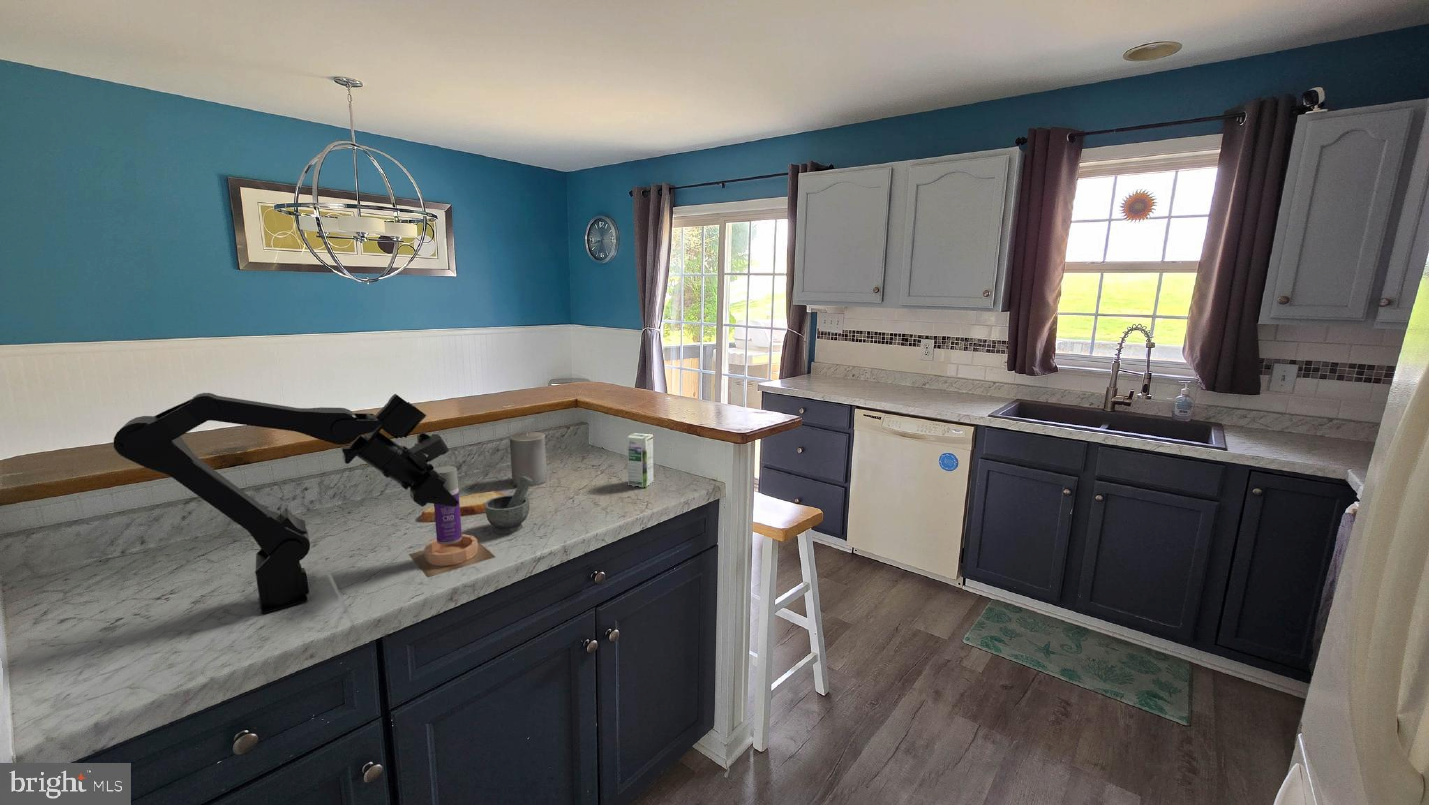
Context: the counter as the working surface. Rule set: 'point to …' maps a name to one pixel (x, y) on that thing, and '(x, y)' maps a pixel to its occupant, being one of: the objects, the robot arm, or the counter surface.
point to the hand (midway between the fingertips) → (453, 500)
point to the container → (448, 510)
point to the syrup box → (640, 459)
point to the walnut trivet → (435, 570)
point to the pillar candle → (528, 457)
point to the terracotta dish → (451, 551)
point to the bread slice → (465, 505)
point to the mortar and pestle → (509, 509)
